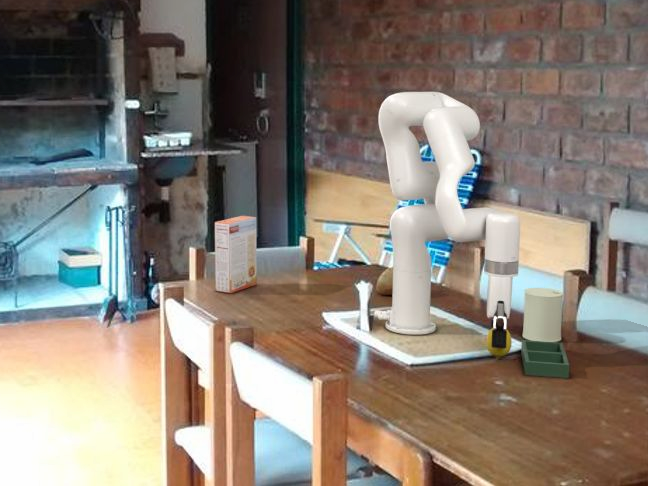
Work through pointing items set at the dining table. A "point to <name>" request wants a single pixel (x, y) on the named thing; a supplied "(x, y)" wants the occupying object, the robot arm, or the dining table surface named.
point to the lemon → (498, 351)
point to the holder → (544, 359)
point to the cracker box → (235, 254)
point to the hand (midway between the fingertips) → (498, 342)
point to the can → (542, 314)
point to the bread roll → (385, 282)
